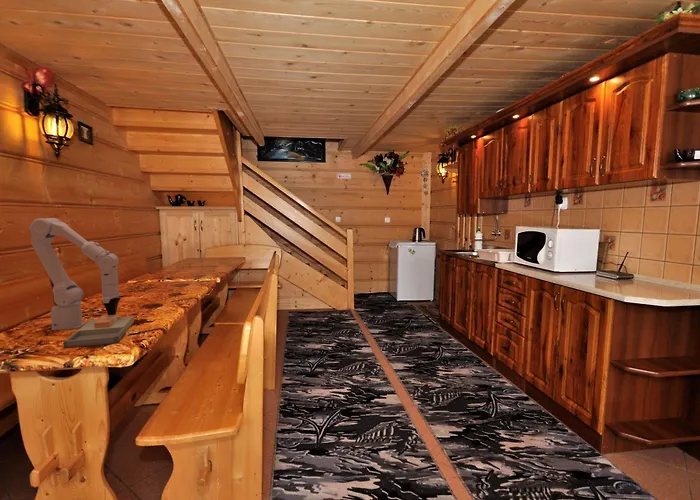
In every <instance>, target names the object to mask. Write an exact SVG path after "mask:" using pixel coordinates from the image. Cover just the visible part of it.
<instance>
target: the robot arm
mask: <svg viewBox="0 0 700 500" xmlns="http://www.w3.org/2000/svg"><path fill="white" fill-rule="evenodd" d="M28 229H29V231H30V233H31V234H30V240H31V242H30V243H31V246H32V248H33V250H34V252H35V253H36V255H37V257H38V258H39V260H40V262H41V264H42V266H43V268H44V269H45V271H46V273H47V275H48V277H49V279H50V280H51V282H52V284H53V288H52V291H51V292H52V294H53V301H54V303H55V304H56V305H54V306H52V307H51V310H50V321H51V330H50V331H58V330H70V329H71V330H72V329H80V328H81V327H83V326H84V325H85V324H86V323H87V321H83V316H82V314H83V313H82V302H81V301H82V299H83V297H84V290H83V288H81V287H79V286H78V285H77V283H76V282H75V281H74V280H72V279H70V277H69V275H68V273H67V271H66V270H65V268H64V266H63V264H62V262H61V260H60V259H59V256H58V255H57V253H56V251H55V249H54V248H53V246H52V242H53V240H54V238H55V237H56V236H58V237H59V236H60V237H63V238H65V239H66V240H68V241H69V242H71V243H73V244H74V245H76V246H77V247H79V248H80V250H81V253H82V254H83V255H85V256H86V257H88V258H89V259H91V260H92V261H93V262H95V263H96V264H97V267H98V268H99V269H100V279H101V298H102V301H101V304H102V305H103V306H104V308H105V310H106V313H107V315H117V309H118V307H119V306H118V305H119V302H120V301H121V298H120V297H121V296H123V293H122V292H121V293H120V290H119V273H118V265H119V263H120V258H119V256H118V255H117V254H116V253H112V252H110V251H109V250H107V249H105V248H103V247H102V246H100V243H99V242H96V241H95V242H94V241H88V240H87V239H85V238H84V237H83V236H82V235H80V234H79V233H78V232H76V231H75V230H74V229H72V228H71V227H70V226H69V225H68V224H67V223H65V222H64V221H62V220H61V219H59V218H58V217H48V218H47V217H45V218H43V217H41V218H40V217H39V218H36V219H34V220H32V222H31V224H30V226H29V227H28Z"/></svg>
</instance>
